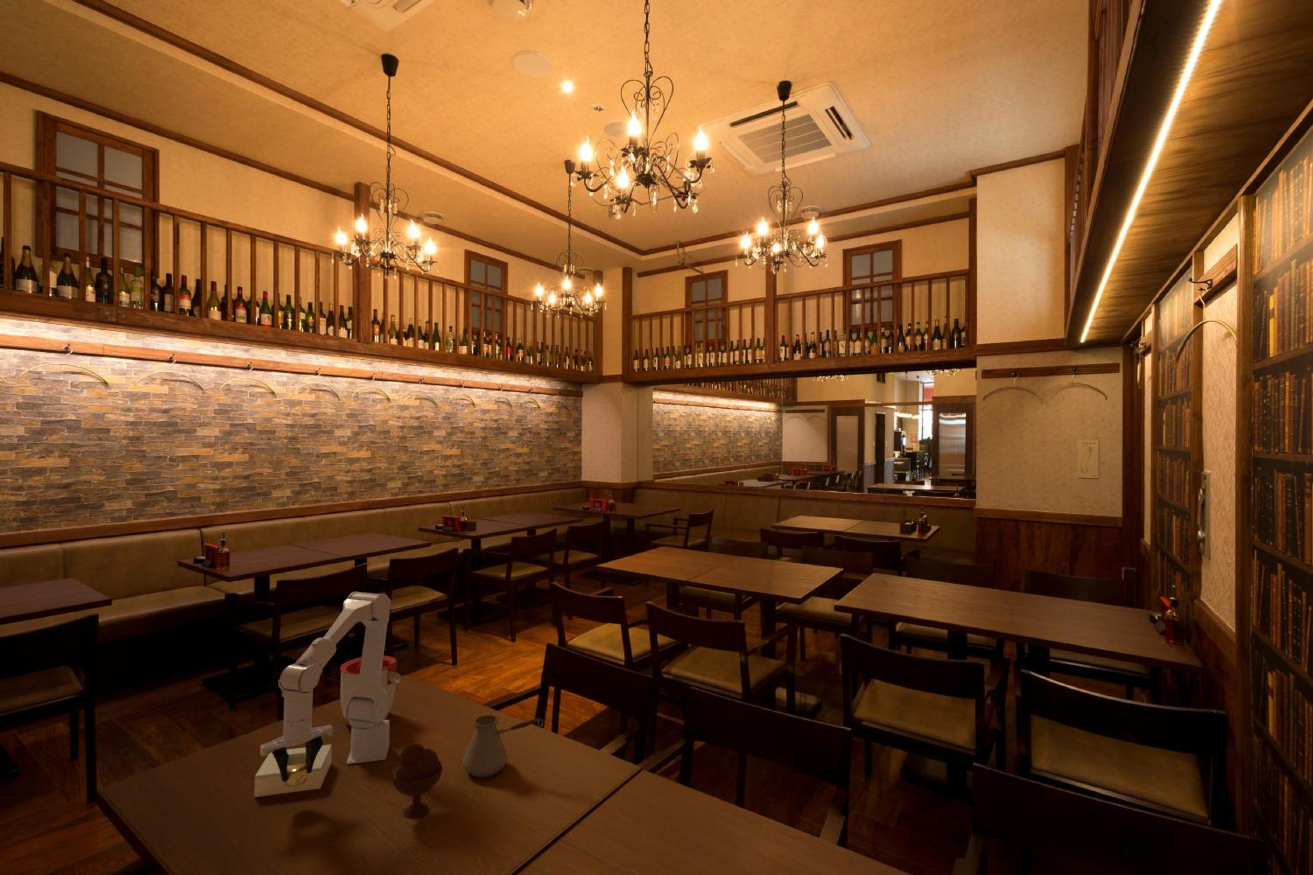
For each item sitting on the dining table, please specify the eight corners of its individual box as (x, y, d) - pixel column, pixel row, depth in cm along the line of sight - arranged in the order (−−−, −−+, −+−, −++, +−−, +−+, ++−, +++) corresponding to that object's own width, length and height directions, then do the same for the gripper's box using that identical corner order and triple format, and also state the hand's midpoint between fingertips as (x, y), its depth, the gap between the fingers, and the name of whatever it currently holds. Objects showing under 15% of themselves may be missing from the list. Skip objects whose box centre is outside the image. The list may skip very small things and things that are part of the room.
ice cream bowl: (393, 831, 132) (395, 762, 132) (389, 803, 142) (391, 739, 142) (444, 818, 137) (445, 751, 137) (437, 792, 146) (438, 730, 147)
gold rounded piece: (309, 775, 143) (309, 762, 143) (304, 785, 139) (305, 772, 139) (287, 778, 142) (288, 765, 142) (282, 788, 138) (282, 775, 138)
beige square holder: (330, 763, 159) (331, 744, 159) (320, 788, 147) (321, 767, 147) (270, 770, 155) (270, 751, 155) (254, 796, 143) (255, 775, 143)
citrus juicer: (387, 731, 177) (389, 663, 177) (328, 731, 176) (330, 662, 177) (408, 708, 192) (410, 645, 193) (353, 707, 192) (355, 644, 192)
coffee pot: (453, 777, 153) (454, 718, 153) (476, 755, 164) (477, 700, 165) (531, 789, 149) (533, 728, 149) (549, 766, 160) (550, 709, 160)
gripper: (325, 702, 149) (324, 757, 149) (257, 721, 138) (255, 780, 138) (336, 711, 144) (334, 768, 144) (265, 731, 133) (264, 793, 133)
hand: (296, 775), depth 141 cm, fingers closed on gold rounded piece, 4 cm apart
